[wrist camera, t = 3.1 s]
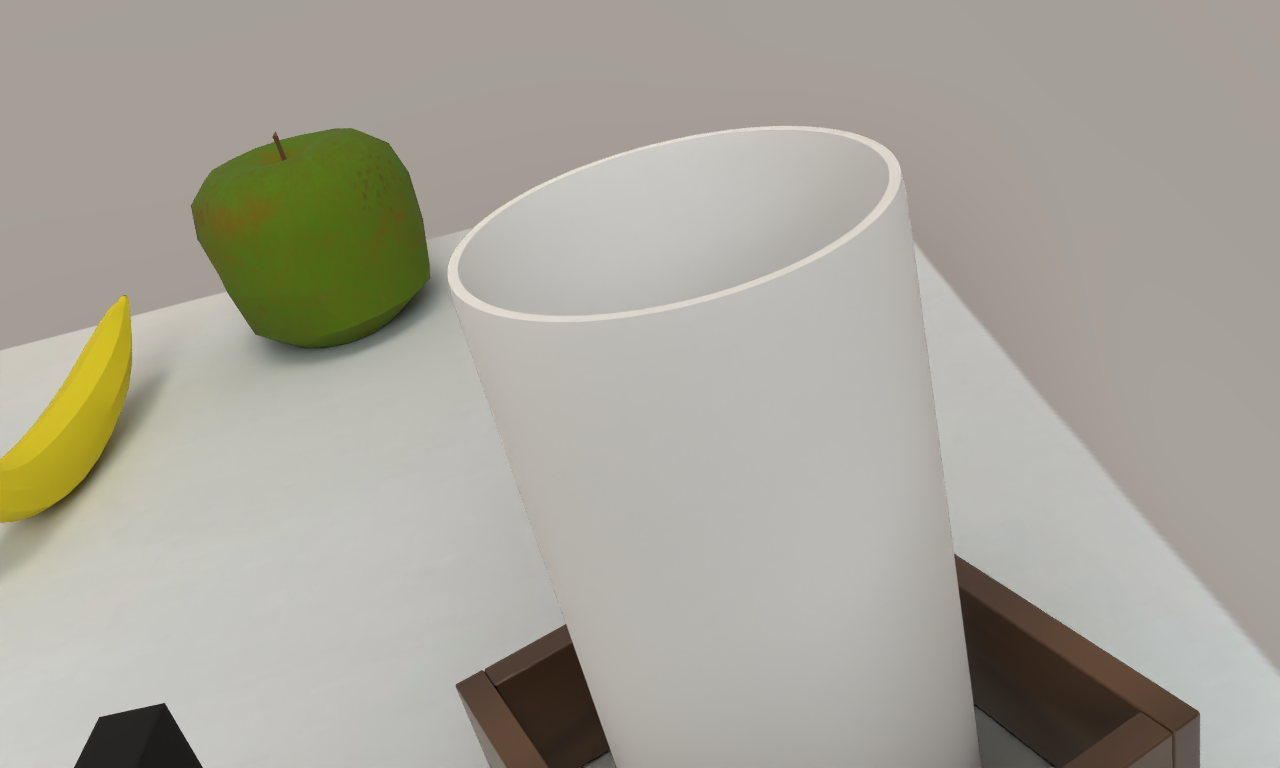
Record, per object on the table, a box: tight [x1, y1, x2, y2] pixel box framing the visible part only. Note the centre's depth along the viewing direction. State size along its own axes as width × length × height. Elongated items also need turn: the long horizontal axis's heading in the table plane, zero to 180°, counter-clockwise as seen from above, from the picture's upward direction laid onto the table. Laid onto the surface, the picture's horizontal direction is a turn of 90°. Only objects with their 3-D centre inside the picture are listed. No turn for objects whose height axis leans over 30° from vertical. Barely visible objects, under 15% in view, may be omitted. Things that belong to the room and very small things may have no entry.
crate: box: [456, 554, 1200, 768], centre depth 27 cm, size 12×12×4 cm
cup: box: [447, 126, 982, 768], centre depth 24 cm, size 8×8×16 cm
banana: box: [0, 295, 132, 523], centre depth 52 cm, size 3×19×6 cm, turn 178°
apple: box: [191, 128, 430, 348], centre depth 60 cm, size 11×11×11 cm
